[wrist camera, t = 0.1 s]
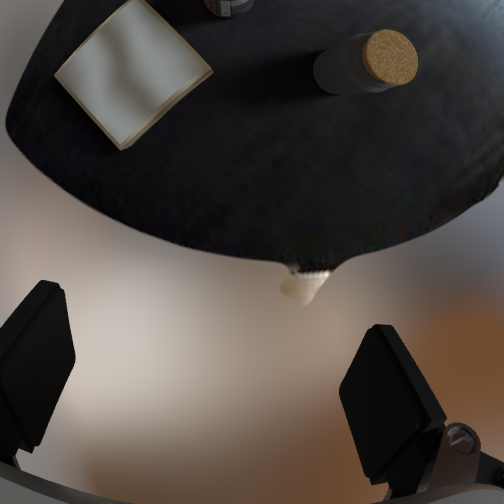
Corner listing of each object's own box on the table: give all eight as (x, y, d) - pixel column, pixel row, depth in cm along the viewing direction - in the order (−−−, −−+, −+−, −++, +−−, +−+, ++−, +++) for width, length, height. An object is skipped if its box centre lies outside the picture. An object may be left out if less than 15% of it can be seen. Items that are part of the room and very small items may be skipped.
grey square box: (145, 3, 28) (135, -8, 24) (213, 72, 33) (211, 68, 29) (69, 77, 31) (52, 75, 27) (131, 145, 35) (119, 150, 32)
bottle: (302, 75, 33) (345, 58, 20) (329, 40, 31) (383, 9, 18) (341, 104, 35) (401, 107, 21) (367, 70, 33) (435, 58, 19)
